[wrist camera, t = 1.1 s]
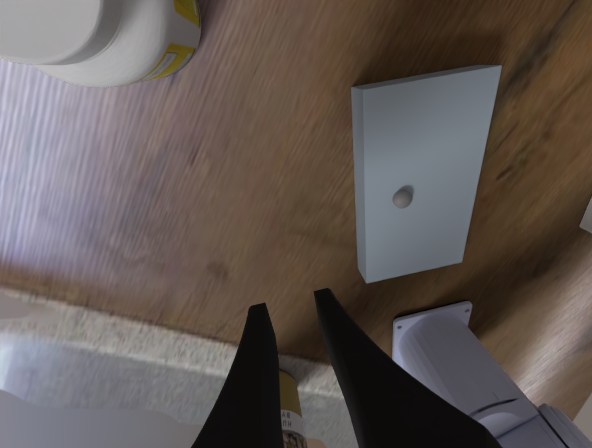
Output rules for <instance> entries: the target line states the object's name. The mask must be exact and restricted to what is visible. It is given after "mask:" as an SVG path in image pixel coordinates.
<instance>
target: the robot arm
mask: <svg viewBox="0 0 592 448" xmlns="http://www.w3.org/2000/svg"><path fill="white" fill-rule="evenodd" d="M314 296H315V302H316V308H317V313H318V319H319V325H320V328H321V332H322V336H323V340H324V344H325V347H326V350H327V353H328V355H329V358H330V361H331V364H332V366H333V369H334V372H335V374H336V377H337V380H338V382H339V385H340V388H341V390H342V393H343V396H344V398H345V401H346V404H347V407H348V410H349V414H350V417H351V421H352V424H353V428H354V431H355V435H356V438H357V442H358V446H359V448H592V442H591V441H590V440H589V439H588V438H587V437H586V436H585V435H584V434H583V433H582V432H581V431H580V430H579V429H578V427H577V426H576V425H575V424H574V423H573V422H572V421H571V420H570V419H569V418H568V417H567V416H566V415H565V414H564V413H563V412H562V411H561V410H560V409H559V408H556V407H553V406H549V405H547V404H545V403H544V404H542V405H540V406H539V407H537V406H535V405H534V404H533V403H532V402H531V401H529V399H528V398H527V397H526V396H525V395H524V393H523V392H522V391H521V390H520V389H519V387H518V386H517V385H516V384H515V383H514V381H513V380H512V379H511V378H510V377H509V376H508V374H507V373H506V372H505V371H504V370H503V368H502V367H501V366H500V365H499V364H498V362H497V361H496V360H495V359H494V358H493V356H492V355H491V354H490V353H489V352H488V351H487V349H486V348H485V347H484V346H483V345H482V343H481V342H480V341H479V340H478V339H477V337H476V336H475V335H474V334H473V333H472V331H471V330H470V329H469V328H468V323H469V318H470V314H471V310H472V304H471V302H470V301H465V302H460V303H456V304H452V305H448V306H444V307H440V308H436V309H432V310H428V311H423V312H419V313H415V314H411V315H407V316H403V317H399V318H396V319H395V320H394V322H393V350H392V359H391V358H390V357H389V356H388V355H387V354H386V353H385V352H383V351H382V350H381V349H380V348H379V347H378V346H377V345H376V344H375V343H374V342H373V341H372V340H371V339H370V338H369V337H368V336H367V335H366V334H365V333H364V332H363V331H362V329H361V328H360V327H359V326H358V325H357V324H356V323H355V322H354V320H353V319H352V318H351V317H350V316H349V315H348V313H347V312H346V311H345V310H344V308H343V307H342V306H341V304H340V303H339V302H338V300H337V299H336V297H335V296H334V294H333V293H332V291H331V289H329V288H326V289H321V290H317V291H314ZM191 448H284V440H283V432H282V422H281V404H280V381H279V360H278V352H277V345H276V338H275V333H274V330H273V327H272V323H271V320H270V317H269V313H268V310H267V307H266V303H262V304H257V305H253V306H251V307H250V308H249V311H248V316H247V320H246V324H245V328H244V331H243V335H242V338H241V341H240V344H239V347H238V350H237V353H236V356H235V359H234V361H233V364H232V366H231V369H230V371H229V374H228V376H227V379H226V381H225V383H224V386H223V388H222V390H221V392H220V394H219V397H218V399H217V401H216V403H215V405H214V407H213V409H212V411H211V413H210V415H209V416H208V418H207V420H206V422H205V424H204V426H203V428H202V430H201V432H200V433H199V435H198V437H197V439H196V440H195V442H194V444H193V445H192V447H191Z"/></svg>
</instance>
